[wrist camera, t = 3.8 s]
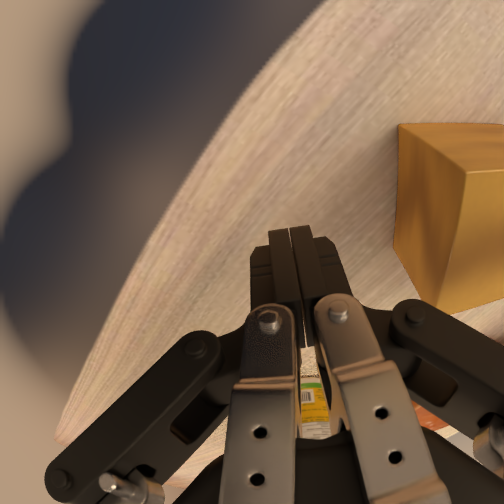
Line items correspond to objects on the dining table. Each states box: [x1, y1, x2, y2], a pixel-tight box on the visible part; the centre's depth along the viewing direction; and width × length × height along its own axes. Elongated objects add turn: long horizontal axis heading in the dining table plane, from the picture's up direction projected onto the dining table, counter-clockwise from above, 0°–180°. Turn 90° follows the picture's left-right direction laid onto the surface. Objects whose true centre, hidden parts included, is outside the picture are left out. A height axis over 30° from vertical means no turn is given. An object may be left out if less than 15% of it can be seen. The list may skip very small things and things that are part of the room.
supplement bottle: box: [301, 377, 332, 439], centre depth 20 cm, size 5×5×10 cm
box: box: [393, 123, 504, 315], centre depth 11 cm, size 6×6×5 cm
